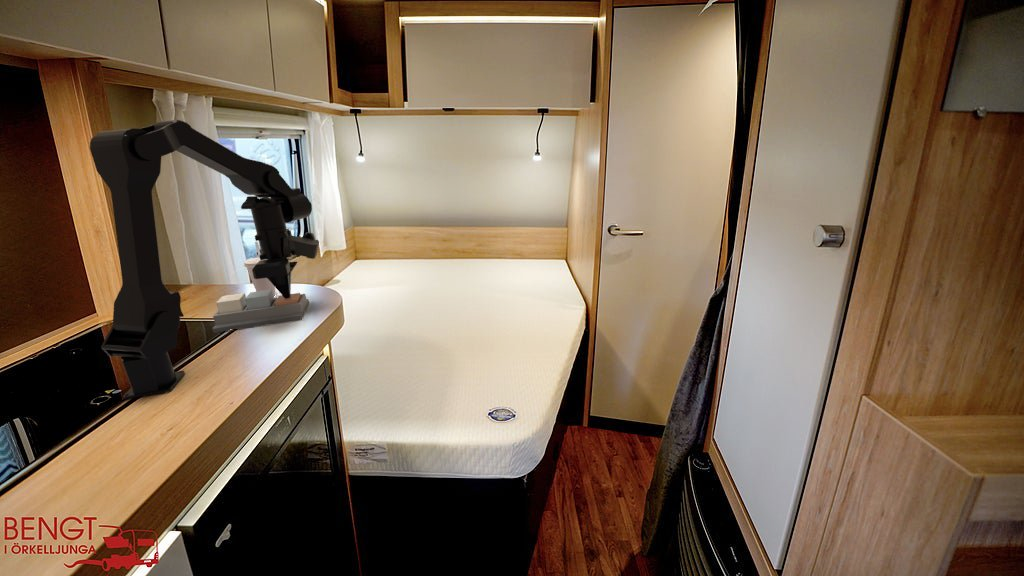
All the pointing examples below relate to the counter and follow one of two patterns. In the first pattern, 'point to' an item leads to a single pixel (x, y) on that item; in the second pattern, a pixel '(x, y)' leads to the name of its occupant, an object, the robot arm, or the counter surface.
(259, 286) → the smoothie
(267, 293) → the key slate
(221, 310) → the key ivory
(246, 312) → the keypad
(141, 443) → the counter surface
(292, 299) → the key terracotta
